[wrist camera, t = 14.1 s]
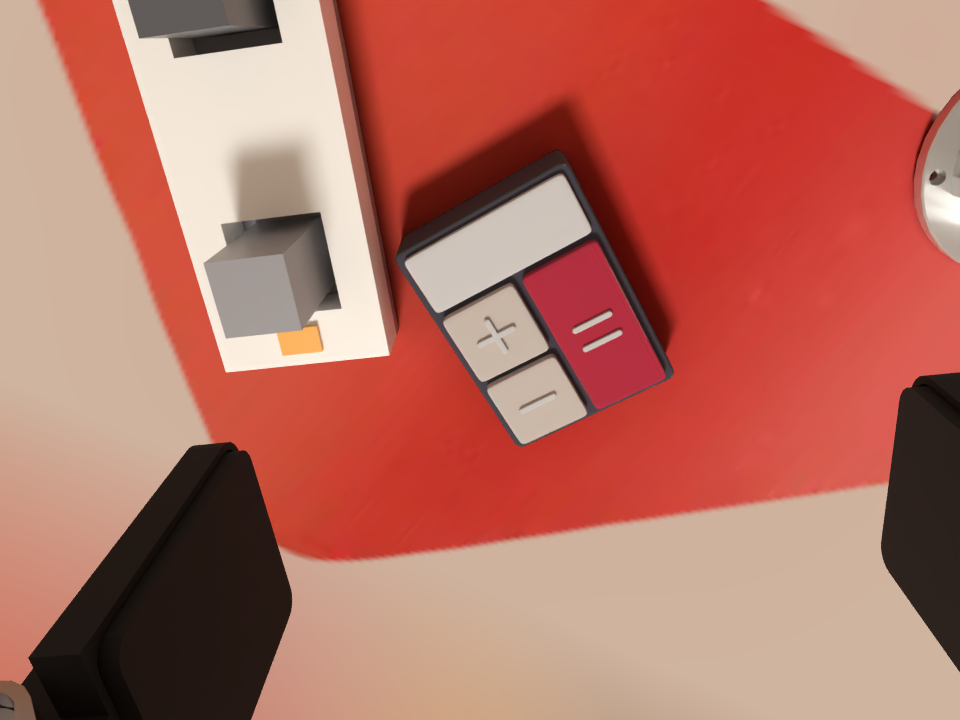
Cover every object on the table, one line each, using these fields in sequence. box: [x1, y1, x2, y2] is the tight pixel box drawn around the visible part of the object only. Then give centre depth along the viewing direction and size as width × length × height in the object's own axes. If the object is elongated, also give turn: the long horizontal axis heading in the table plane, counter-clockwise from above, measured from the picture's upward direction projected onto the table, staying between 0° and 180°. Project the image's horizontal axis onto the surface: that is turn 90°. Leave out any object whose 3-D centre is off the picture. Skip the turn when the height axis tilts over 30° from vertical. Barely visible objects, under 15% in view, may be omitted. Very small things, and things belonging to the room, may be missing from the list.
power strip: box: [112, 0, 399, 372], centre depth 39 cm, size 10×26×4 cm, turn 7°
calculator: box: [396, 150, 674, 447], centre depth 43 cm, size 11×4×15 cm
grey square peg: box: [203, 216, 336, 339], centre depth 39 cm, size 4×4×8 cm
